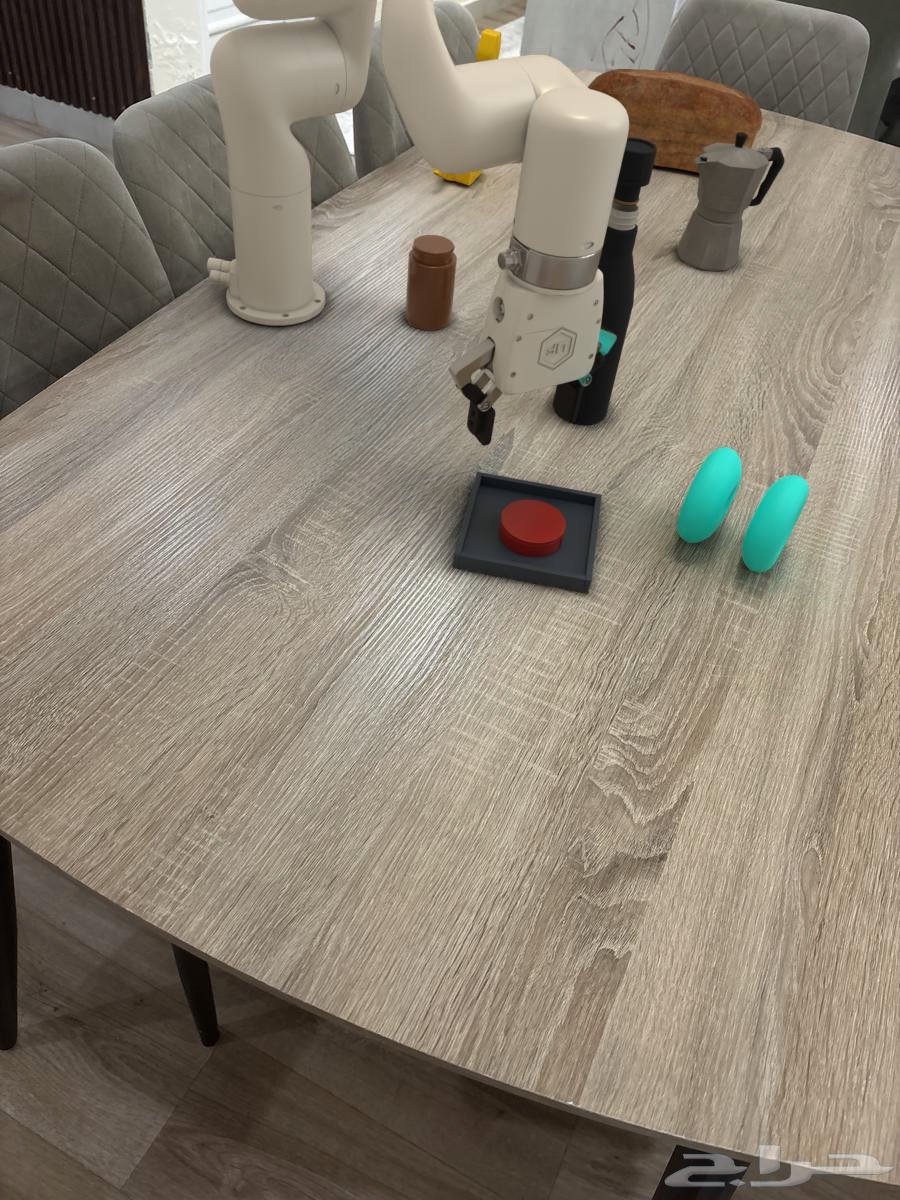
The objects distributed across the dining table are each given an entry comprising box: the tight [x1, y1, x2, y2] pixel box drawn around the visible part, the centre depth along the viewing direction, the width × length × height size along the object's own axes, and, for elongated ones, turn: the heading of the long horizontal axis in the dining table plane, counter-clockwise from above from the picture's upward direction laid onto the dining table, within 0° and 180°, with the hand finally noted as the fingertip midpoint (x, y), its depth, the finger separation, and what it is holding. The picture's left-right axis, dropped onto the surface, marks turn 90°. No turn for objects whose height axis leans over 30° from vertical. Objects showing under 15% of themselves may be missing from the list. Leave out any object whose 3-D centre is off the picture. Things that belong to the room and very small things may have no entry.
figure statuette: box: [432, 27, 502, 186], centre depth 147 cm, size 18×8×22 cm, turn 159°
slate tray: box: [452, 471, 603, 594], centre depth 94 cm, size 13×13×2 cm
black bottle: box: [552, 138, 657, 426], centre depth 100 cm, size 6×6×30 cm
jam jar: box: [404, 234, 458, 331], centre depth 119 cm, size 6×6×10 cm
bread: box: [587, 68, 763, 174], centre depth 164 cm, size 12×31×14 cm, turn 75°
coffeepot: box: [676, 132, 786, 272], centre depth 136 cm, size 15×9×18 cm, turn 113°
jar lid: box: [499, 500, 566, 557], centre depth 93 cm, size 6×6×2 cm
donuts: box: [676, 446, 810, 573], centre depth 92 cm, size 10×10×10 cm
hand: (522, 425), depth 90 cm, fingers open, 9 cm apart
